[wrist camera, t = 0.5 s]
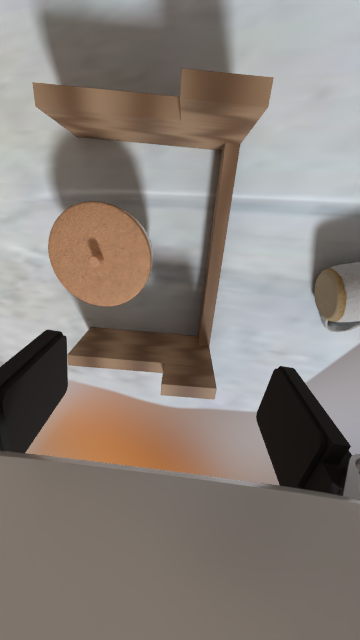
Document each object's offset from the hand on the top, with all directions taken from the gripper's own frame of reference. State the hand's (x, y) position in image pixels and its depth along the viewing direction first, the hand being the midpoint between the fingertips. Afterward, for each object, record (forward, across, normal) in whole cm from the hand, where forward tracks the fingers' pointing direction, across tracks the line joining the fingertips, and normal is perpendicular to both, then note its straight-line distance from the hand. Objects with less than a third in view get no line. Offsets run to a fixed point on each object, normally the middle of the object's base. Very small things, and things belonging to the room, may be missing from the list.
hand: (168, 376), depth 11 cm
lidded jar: (+24, +8, -1) cm, 26 cm away
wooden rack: (+24, +4, -2) cm, 24 cm away
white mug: (+24, -23, -1) cm, 34 cm away
